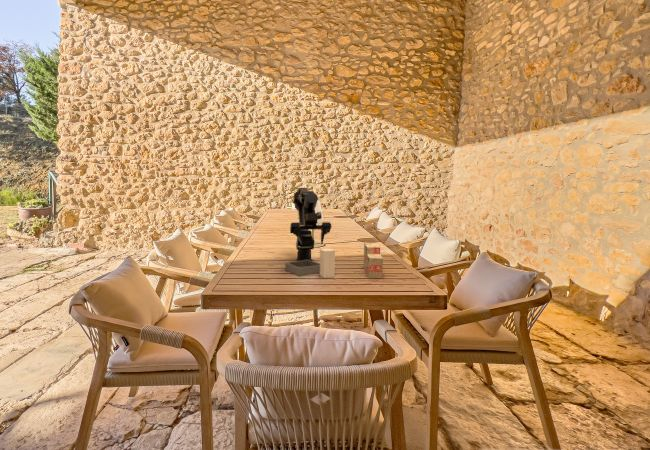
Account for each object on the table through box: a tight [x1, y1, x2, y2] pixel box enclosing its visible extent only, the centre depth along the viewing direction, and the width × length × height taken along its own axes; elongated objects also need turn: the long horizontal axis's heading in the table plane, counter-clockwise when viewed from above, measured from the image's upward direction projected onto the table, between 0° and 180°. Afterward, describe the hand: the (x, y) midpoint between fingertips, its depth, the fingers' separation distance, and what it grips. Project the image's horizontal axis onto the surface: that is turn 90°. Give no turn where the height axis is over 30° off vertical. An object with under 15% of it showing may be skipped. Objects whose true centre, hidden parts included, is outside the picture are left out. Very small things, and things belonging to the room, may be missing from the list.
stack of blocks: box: [363, 242, 384, 279], centre depth 175 cm, size 21×6×12 cm, turn 0°
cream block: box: [319, 248, 336, 279], centre depth 167 cm, size 5×5×12 cm
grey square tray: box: [284, 259, 320, 277], centre depth 175 cm, size 13×13×4 cm
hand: (312, 243), depth 170 cm, fingers open, 9 cm apart
